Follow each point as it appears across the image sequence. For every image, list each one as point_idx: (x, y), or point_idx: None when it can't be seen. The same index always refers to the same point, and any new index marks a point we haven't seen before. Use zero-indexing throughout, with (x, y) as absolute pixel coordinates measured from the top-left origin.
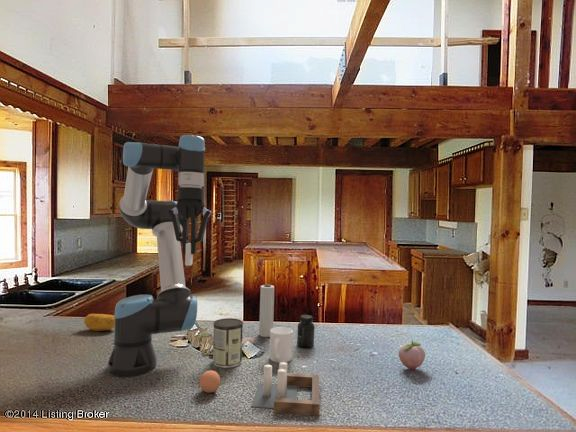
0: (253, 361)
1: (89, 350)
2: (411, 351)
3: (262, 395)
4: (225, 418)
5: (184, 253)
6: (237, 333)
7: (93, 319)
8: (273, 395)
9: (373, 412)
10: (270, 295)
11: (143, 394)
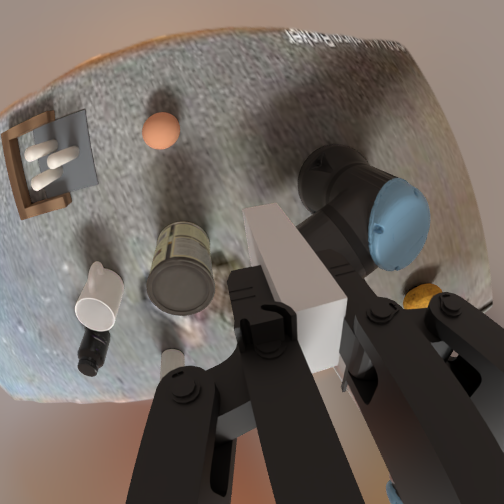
0: (141, 261)
1: None
2: None
3: (79, 147)
4: (110, 67)
5: (319, 252)
6: (152, 266)
7: (433, 291)
8: None
9: None
10: None
11: (269, 94)
